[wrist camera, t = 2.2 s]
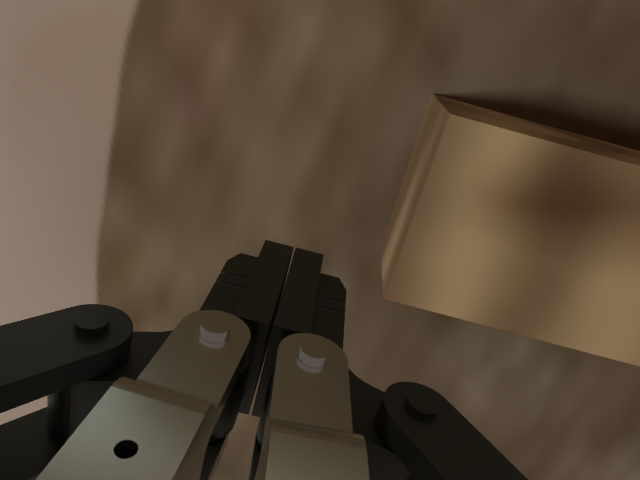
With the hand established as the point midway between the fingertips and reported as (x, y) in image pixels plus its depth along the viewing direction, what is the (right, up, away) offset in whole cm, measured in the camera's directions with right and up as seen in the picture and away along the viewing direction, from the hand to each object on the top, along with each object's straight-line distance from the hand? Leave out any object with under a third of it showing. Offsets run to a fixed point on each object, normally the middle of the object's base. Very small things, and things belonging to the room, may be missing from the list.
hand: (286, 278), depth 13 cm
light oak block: (+11, +3, +12) cm, 16 cm away
